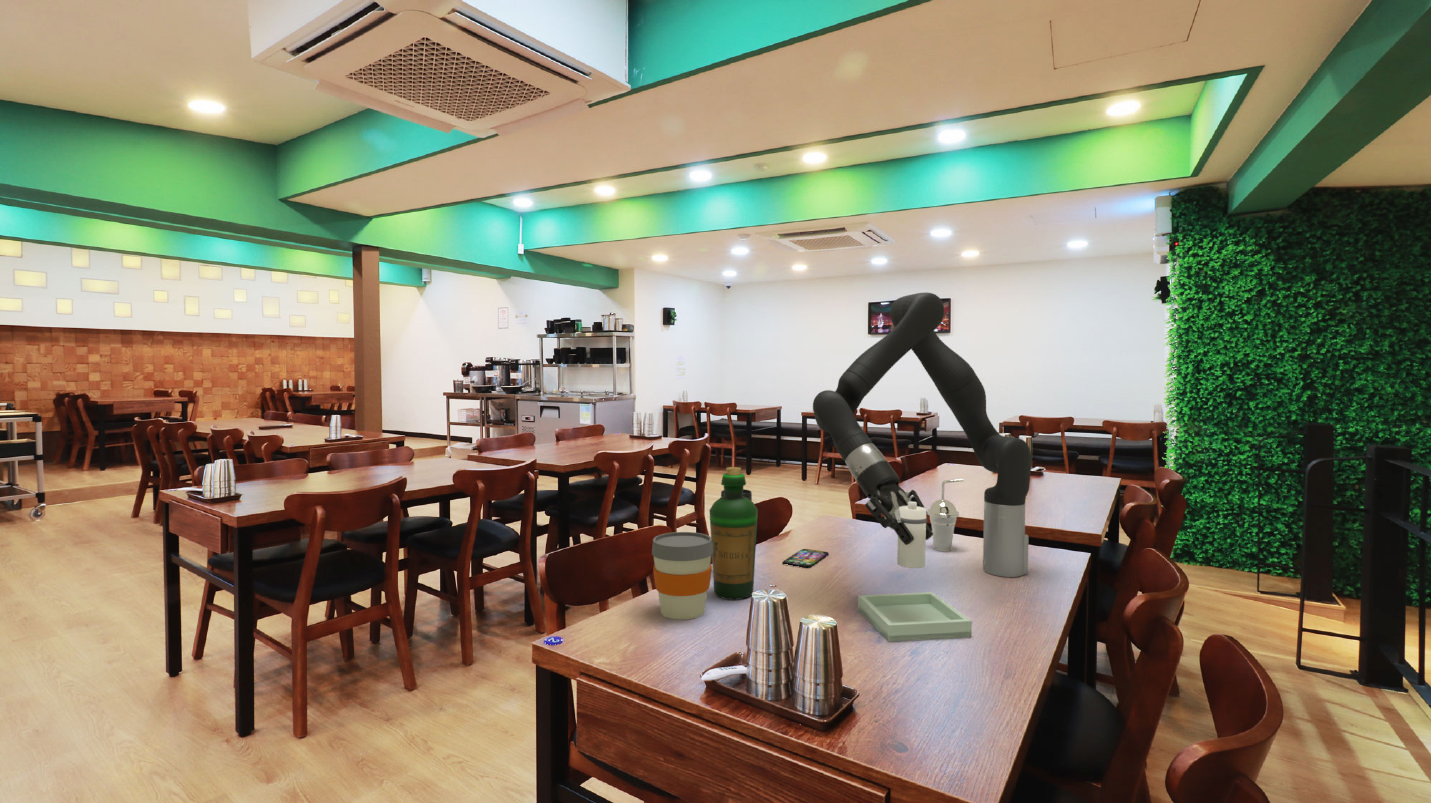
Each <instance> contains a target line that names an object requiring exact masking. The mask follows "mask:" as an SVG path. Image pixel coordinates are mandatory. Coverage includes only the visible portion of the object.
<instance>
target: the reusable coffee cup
mask: <svg viewBox="0 0 1431 803" xmlns="http://www.w3.org/2000/svg"><path fill="white" fill-rule="evenodd" d="M651 548H652V549H651V555H652V556H653V562H654V564H653V566H652V567H653V568H652V570H653V577H654V578H653V579H654V584H655V589H656V592H658V600H659V601H658V602H659V606H660V608H659V609H660V613H661V615H662V616H664V617H665V618H668V619H672V620H678V621H680V620H682V621H683V620H693V619H696V618H699V617H701V616H703V615H704V614H705V611H706V610H705V609H706V601H707V593H708V590H709V589H710V585H711V579H712V578H711V577H712V571H713V564H711V562H712V554H713V546H712V538H711V535H710V536H709V535H708V534H705V533H700V532H695V531H694V532H693V531H676V532H667V533H663V534H659V535H656V536H654V538H653V539H652V547H651ZM702 614H703V615H702Z"/></svg>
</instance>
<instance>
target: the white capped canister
mask: <svg viewBox="0 0 1431 803" xmlns="http://www.w3.org/2000/svg"><path fill="white" fill-rule="evenodd" d="M899 511H900V512H899V514H900V517H901V520H902V522H901V523H904V524H905V525H906V527H907V528H908V530H909V531H910V533H911V534H912V536H913V537H914V540H913V541H912V542H911V543H910V544H908V545H905V544H904V543H903V542H902V541H901V539H900V538H899V536H898V535H897V551H896V552H897V553H896V554H897V555H896V556H897V557H896V560H897V565H898V566H899V567H902V568H907V569H922V568H925V567H926V544H927V543H926V541H927V540H926V523H928V517H927V514H926V511H927V509H926V507H925V508H923V507H918V506H917V502H908V505H907V506H900V507H899Z"/></svg>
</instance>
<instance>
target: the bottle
mask: <svg viewBox="0 0 1431 803" xmlns="http://www.w3.org/2000/svg"><path fill="white" fill-rule="evenodd" d="M725 470H726V472H724V473H723V474H722V478H721V479H722V480H721V482H720V484H721V485H722V486H723V490H724V495H725V496H723V497H721V496H720V497H719V498H718V499H716V501H715V502H713V504H712V505H711V507H710V509H709V524H710V526H709V527H710V537H711V538H712V546H713V554H712V555H711V562H712V576H713V577H712V578H713V592H714V594H716V596H718V597H720V598H722V597H723V599H725V598H726V600H741V599H740V598H743V599H745V597H746V598H747V596H748V597H749V596H752V595H753V593H752V592H754V581H755V565H756V564H755V562H756V551H757V550H756V549H757V548H756V547H757V546H756V545H757V530H758V515H759V514H758V513H759V512H758V511H759V509H758V507H757V506H756V505H755V503H754V502H753V500H752V501H750V500H749V499H748V498H746V497H744V496H743V489H744V486H746V485H747V481H746V477H745V473H744V472H743V473H742V472H741V470H742V467H738V466H737V467H736V466H729V467H726V468H725ZM751 594H752V595H751Z"/></svg>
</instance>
